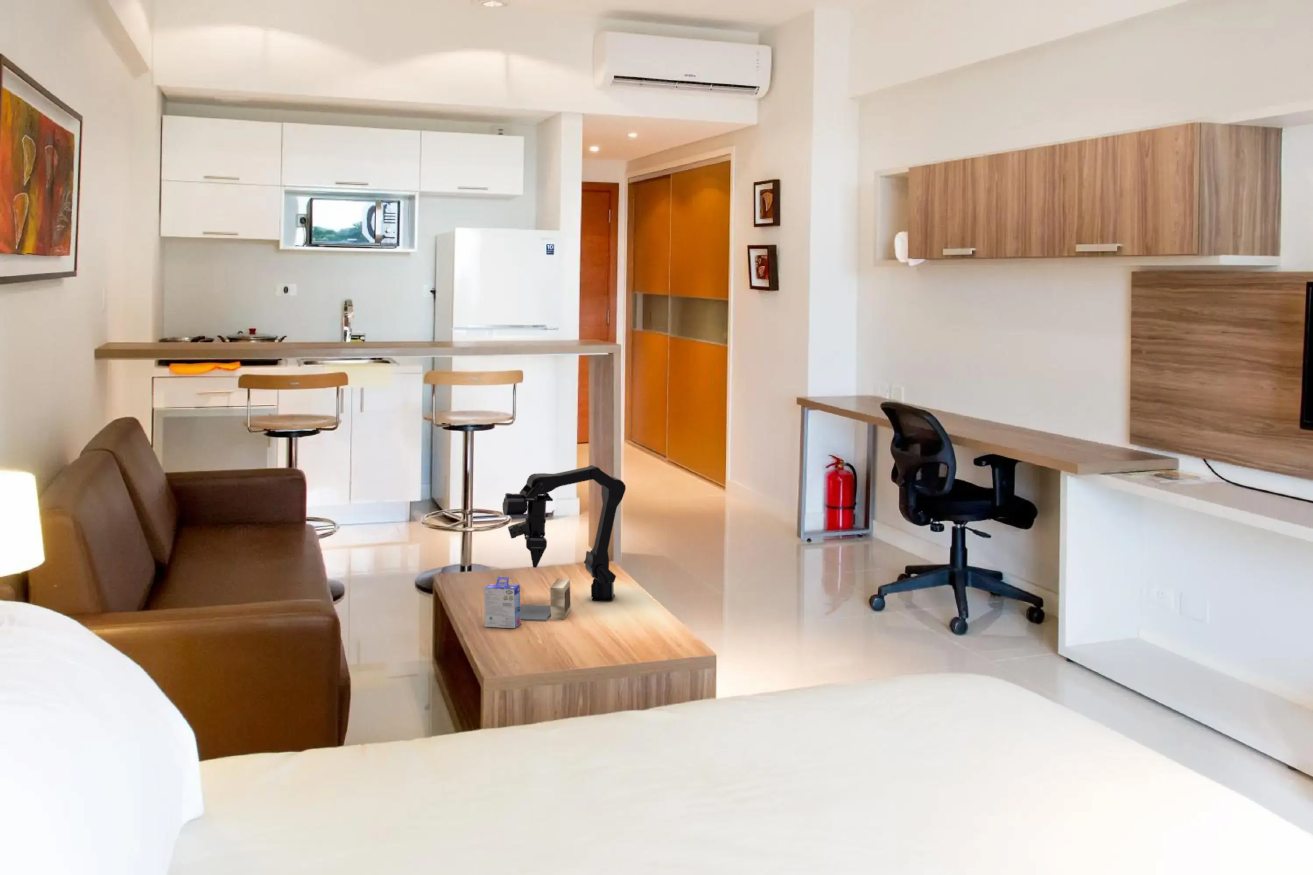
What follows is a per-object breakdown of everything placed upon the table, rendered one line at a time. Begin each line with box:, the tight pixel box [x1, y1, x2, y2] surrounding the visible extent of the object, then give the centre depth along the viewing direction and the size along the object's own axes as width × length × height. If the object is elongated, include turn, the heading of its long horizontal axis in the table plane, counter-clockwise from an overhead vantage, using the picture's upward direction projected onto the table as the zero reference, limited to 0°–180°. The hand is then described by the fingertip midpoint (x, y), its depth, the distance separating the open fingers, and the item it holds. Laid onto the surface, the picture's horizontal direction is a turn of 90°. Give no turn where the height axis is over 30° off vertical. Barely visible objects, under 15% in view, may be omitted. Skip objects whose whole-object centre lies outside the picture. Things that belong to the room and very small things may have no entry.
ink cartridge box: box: [483, 576, 522, 629], centre depth 348 cm, size 10×6×14 cm, turn 78°
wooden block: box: [549, 578, 572, 621], centre depth 358 cm, size 4×10×10 cm, turn 172°
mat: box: [520, 604, 551, 622], centre depth 360 cm, size 11×14×1 cm
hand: (534, 563), depth 365 cm, fingers open, 9 cm apart
